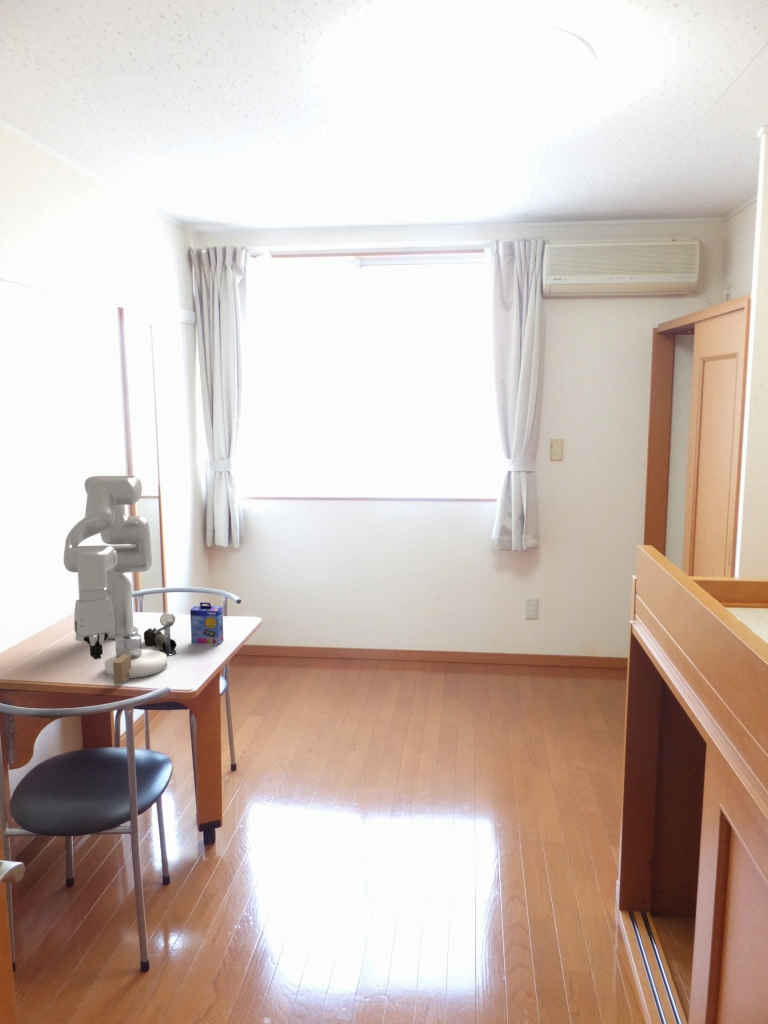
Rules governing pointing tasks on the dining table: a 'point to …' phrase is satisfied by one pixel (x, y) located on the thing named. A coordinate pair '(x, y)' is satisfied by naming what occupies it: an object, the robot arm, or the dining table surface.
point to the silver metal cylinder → (129, 645)
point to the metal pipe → (156, 639)
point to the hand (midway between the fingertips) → (96, 657)
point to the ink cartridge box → (206, 624)
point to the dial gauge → (167, 631)
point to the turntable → (135, 665)
